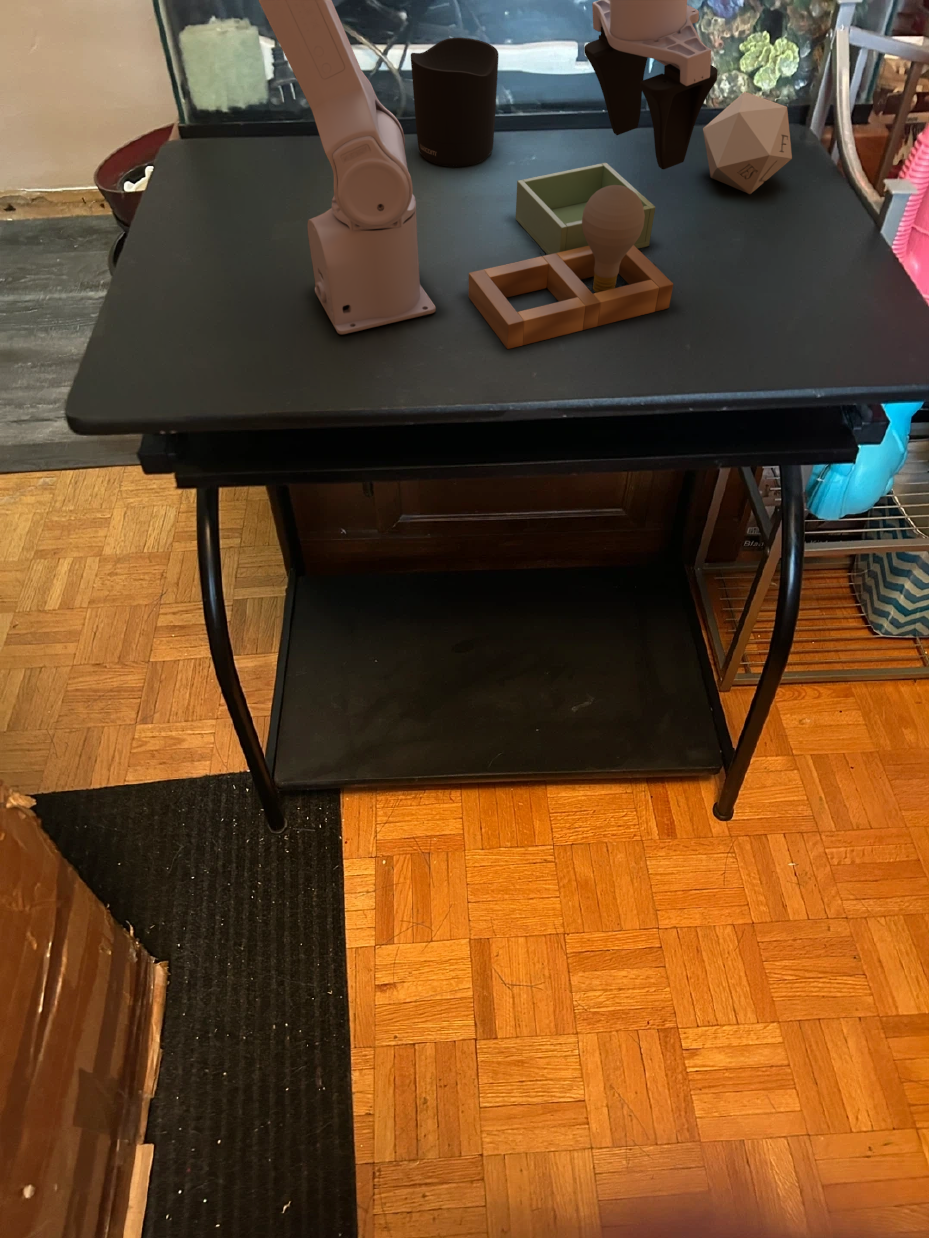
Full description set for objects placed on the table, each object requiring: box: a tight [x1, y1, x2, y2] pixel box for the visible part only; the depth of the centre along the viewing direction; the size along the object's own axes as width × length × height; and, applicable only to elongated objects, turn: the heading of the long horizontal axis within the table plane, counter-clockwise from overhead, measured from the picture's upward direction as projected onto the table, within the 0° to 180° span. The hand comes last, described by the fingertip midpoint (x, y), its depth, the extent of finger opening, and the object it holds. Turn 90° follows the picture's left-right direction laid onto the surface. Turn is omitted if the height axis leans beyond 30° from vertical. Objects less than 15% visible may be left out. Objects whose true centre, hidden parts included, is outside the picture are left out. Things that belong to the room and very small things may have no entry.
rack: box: [468, 245, 674, 350], centre depth 82 cm, size 16×9×2 cm, turn 112°
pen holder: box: [410, 37, 499, 168], centre depth 98 cm, size 9×9×10 cm
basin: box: [515, 162, 656, 255], centre depth 89 cm, size 10×10×4 cm
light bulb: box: [582, 185, 645, 293], centre depth 79 cm, size 6×5×10 cm
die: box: [702, 91, 793, 195], centre depth 94 cm, size 8×9×10 cm
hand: (647, 147), depth 74 cm, fingers open, 7 cm apart
